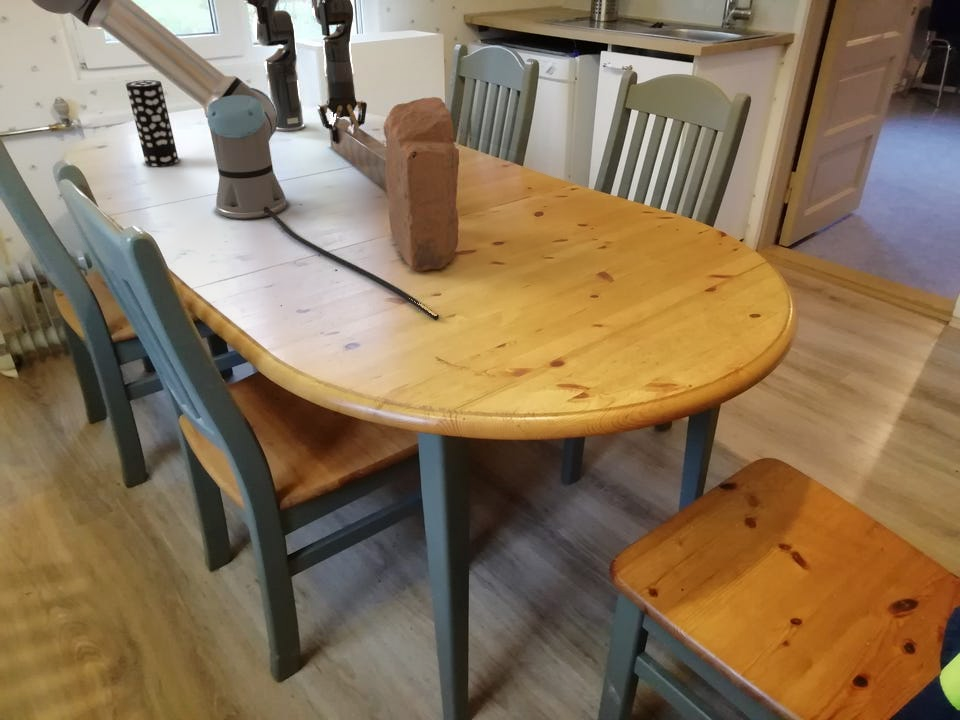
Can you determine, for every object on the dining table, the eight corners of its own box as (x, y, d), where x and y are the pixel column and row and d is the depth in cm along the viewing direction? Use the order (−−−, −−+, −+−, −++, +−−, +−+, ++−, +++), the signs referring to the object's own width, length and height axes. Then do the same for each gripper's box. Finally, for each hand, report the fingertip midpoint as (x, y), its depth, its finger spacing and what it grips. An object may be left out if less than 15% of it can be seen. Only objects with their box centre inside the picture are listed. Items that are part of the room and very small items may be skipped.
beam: (440, 213, 156) (440, 180, 152) (420, 217, 154) (419, 184, 150) (347, 145, 202) (344, 118, 198) (330, 147, 200) (327, 120, 196)
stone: (470, 268, 131) (468, 114, 117) (412, 275, 128) (403, 119, 114) (440, 231, 149) (435, 93, 134) (388, 237, 146) (378, 97, 131)
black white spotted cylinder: (184, 157, 190) (167, 80, 179) (169, 166, 183) (151, 87, 172) (155, 156, 190) (136, 79, 179) (139, 165, 183) (119, 86, 172)
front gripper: (332, -76, 150) (342, 31, 161) (216, -76, 138) (236, 40, 149) (346, -76, 144) (356, 35, 156) (227, -76, 133) (247, 44, 144)
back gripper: (359, 73, 191) (364, 135, 201) (309, 77, 185) (316, 141, 195) (369, 78, 186) (374, 141, 195) (318, 82, 180) (325, 148, 189)
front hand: (297, 38), depth 153 cm, fingers open, 13 cm apart
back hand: (345, 141), depth 195 cm, fingers closed on beam, 5 cm apart
